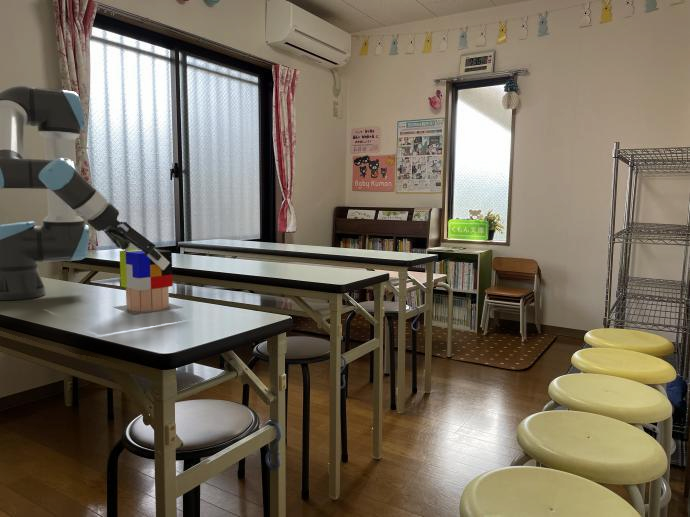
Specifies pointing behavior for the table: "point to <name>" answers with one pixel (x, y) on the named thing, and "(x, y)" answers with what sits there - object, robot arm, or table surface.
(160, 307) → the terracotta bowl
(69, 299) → the table surface
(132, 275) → the puzzle toy
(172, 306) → the rubber mat
